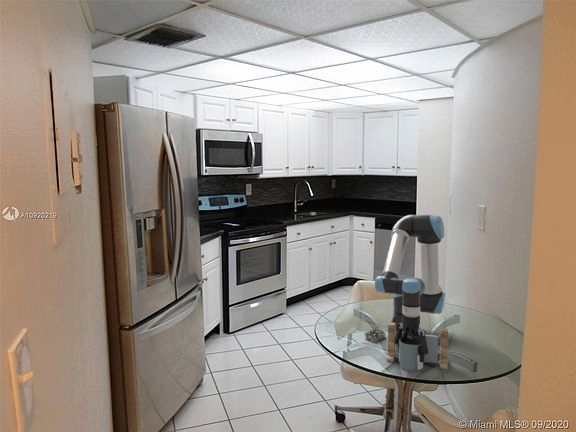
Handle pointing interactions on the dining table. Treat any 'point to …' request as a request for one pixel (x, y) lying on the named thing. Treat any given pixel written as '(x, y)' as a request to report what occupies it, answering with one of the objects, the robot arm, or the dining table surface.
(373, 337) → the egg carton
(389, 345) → the door frame
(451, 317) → the dining table surface
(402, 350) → the grey blue cup
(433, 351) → the door
